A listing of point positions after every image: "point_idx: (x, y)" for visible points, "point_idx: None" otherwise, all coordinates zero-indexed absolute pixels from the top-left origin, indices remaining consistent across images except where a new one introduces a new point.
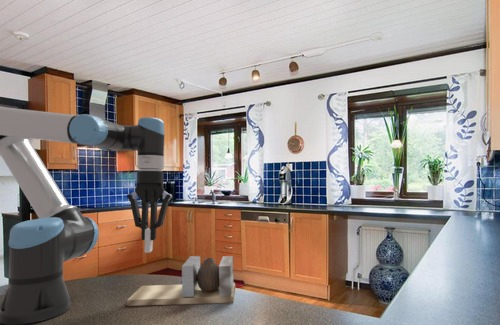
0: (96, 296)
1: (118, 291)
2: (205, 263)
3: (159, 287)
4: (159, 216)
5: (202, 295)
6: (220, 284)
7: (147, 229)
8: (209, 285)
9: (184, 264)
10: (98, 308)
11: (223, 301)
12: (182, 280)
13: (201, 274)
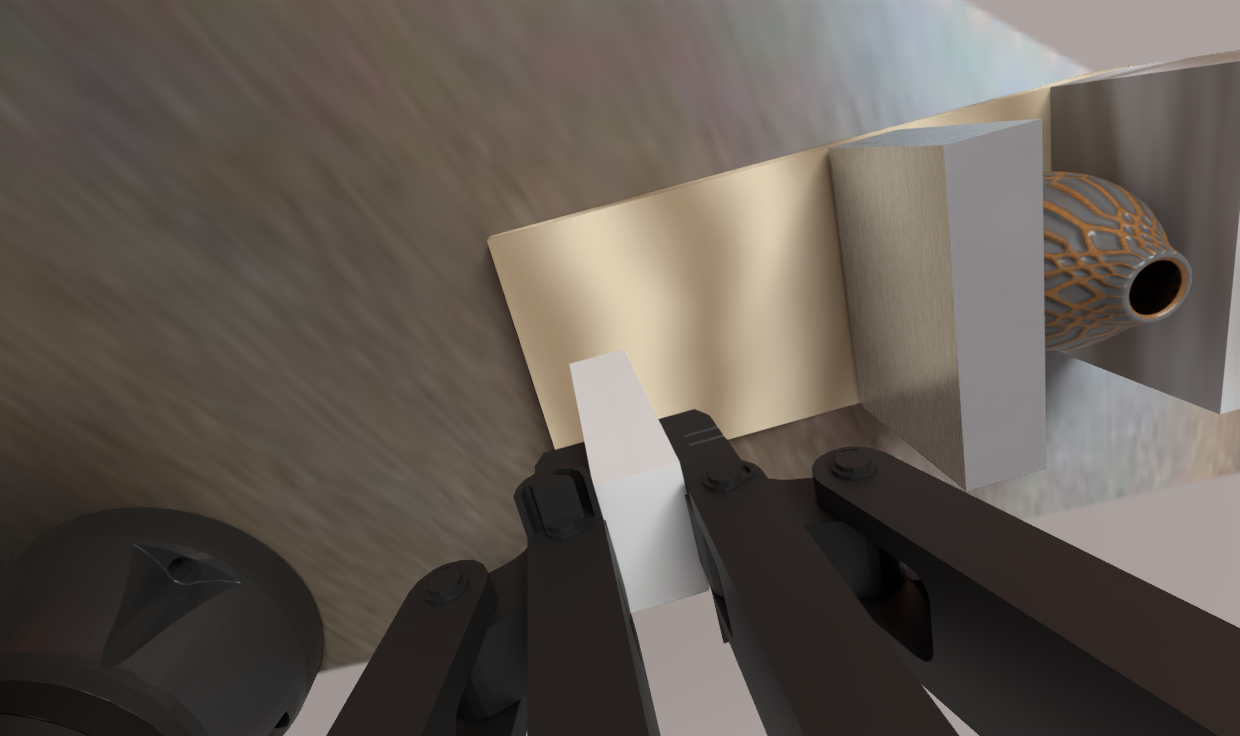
0: (261, 384)
1: (328, 274)
2: (1106, 327)
3: (635, 256)
4: (988, 719)
5: None
6: (1115, 368)
7: (659, 589)
8: None
9: (971, 442)
10: (439, 525)
11: None
12: (911, 443)
13: None
